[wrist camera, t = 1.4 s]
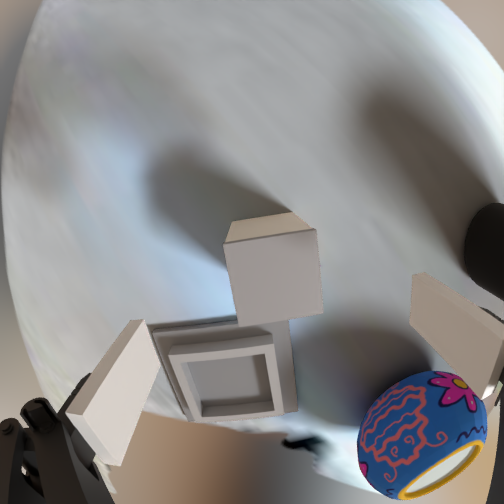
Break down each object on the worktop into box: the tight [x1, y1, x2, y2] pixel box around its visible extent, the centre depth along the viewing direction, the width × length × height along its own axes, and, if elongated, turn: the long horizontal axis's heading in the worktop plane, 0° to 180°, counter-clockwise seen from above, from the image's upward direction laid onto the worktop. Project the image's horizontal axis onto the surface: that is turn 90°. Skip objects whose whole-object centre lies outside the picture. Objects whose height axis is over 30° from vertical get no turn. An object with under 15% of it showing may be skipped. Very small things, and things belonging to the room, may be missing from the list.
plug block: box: [223, 212, 323, 327], centre depth 22 cm, size 6×6×9 cm
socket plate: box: [152, 320, 298, 423], centre depth 29 cm, size 14×14×3 cm
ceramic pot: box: [357, 371, 487, 500], centre depth 25 cm, size 18×18×15 cm
